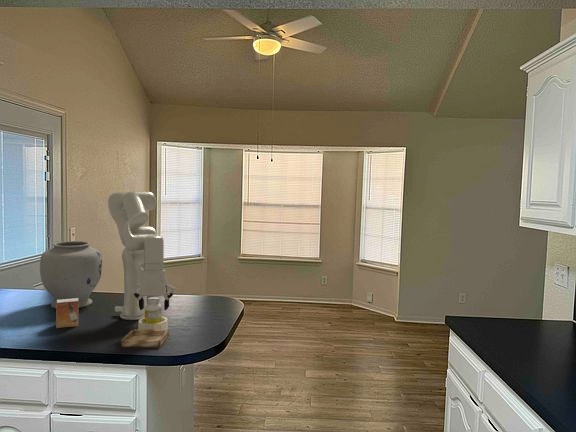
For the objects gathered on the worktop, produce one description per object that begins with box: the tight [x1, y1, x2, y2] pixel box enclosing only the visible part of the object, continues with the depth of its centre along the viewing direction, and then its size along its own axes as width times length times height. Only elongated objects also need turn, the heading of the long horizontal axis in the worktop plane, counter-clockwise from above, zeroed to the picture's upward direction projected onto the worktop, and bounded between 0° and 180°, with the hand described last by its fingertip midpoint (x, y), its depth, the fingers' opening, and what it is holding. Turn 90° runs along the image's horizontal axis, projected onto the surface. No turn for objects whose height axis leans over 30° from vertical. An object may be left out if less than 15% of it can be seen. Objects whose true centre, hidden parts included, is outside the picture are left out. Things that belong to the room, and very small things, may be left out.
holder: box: [137, 316, 169, 330], centre depth 170 cm, size 11×11×4 cm
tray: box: [120, 328, 170, 349], centre depth 157 cm, size 14×12×2 cm
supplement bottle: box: [145, 296, 163, 324], centre depth 169 cm, size 7×7×13 cm
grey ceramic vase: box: [39, 240, 103, 309], centre depth 202 cm, size 27×27×30 cm
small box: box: [55, 298, 79, 329], centre depth 172 cm, size 8×6×10 cm
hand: (154, 309), depth 169 cm, fingers open, 9 cm apart
